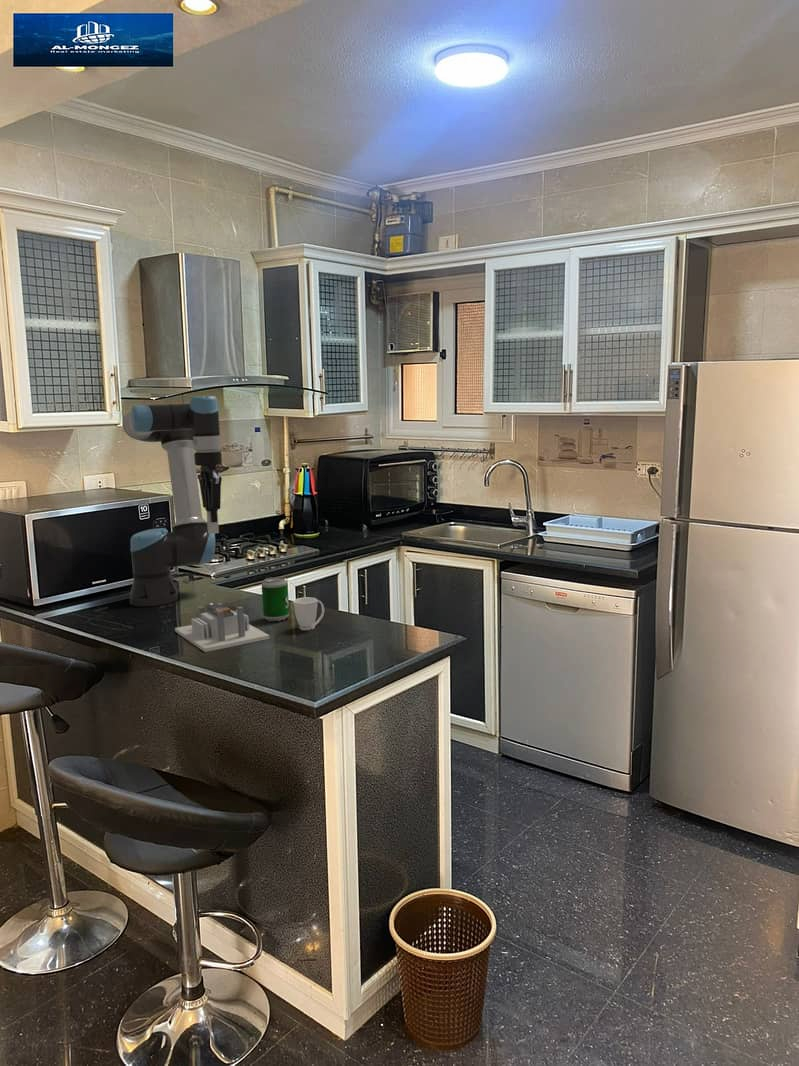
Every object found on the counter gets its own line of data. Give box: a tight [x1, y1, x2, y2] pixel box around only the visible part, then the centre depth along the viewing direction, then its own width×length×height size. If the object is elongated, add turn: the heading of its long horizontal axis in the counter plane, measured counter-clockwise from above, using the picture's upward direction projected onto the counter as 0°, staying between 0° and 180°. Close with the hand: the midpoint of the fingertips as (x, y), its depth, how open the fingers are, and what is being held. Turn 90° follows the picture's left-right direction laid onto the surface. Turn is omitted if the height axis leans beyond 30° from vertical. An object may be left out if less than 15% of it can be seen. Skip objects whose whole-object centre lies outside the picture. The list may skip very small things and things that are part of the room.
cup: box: [292, 597, 325, 631], centre depth 221 cm, size 7×10×8 cm
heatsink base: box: [174, 602, 270, 653], centre depth 216 cm, size 24×18×9 cm
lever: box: [204, 602, 234, 617], centre depth 216 cm, size 14×3×2 cm, turn 34°
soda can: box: [261, 576, 290, 622], centre depth 230 cm, size 8×8×12 cm
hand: (213, 533), depth 227 cm, fingers closed
